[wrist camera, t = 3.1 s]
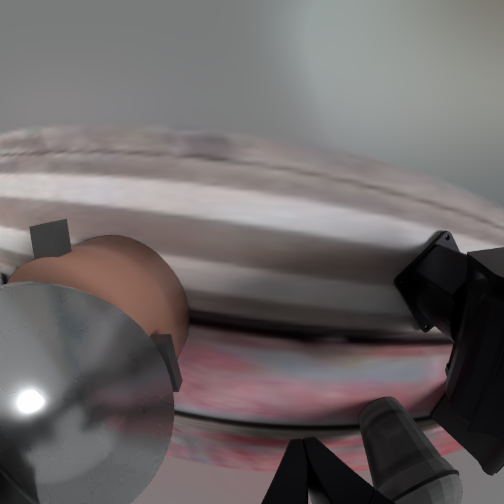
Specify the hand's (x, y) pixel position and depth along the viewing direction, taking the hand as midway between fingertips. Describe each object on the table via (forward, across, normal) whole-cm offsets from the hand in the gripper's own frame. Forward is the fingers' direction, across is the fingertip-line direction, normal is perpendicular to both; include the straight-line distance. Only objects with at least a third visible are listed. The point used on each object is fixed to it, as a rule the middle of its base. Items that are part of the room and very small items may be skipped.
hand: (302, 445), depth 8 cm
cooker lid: (0, -10, 0) cm, 10 cm away
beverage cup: (+13, +10, -14) cm, 21 cm away
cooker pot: (+13, -12, 0) cm, 18 cm away
